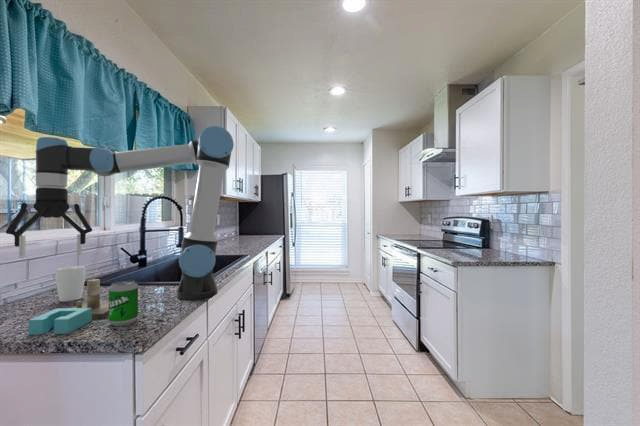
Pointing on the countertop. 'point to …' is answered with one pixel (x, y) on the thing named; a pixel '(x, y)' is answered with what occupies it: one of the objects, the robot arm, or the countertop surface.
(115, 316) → the soda can
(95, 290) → the post fixture
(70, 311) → the teal u-shaped block
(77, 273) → the cup
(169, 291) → the countertop surface
